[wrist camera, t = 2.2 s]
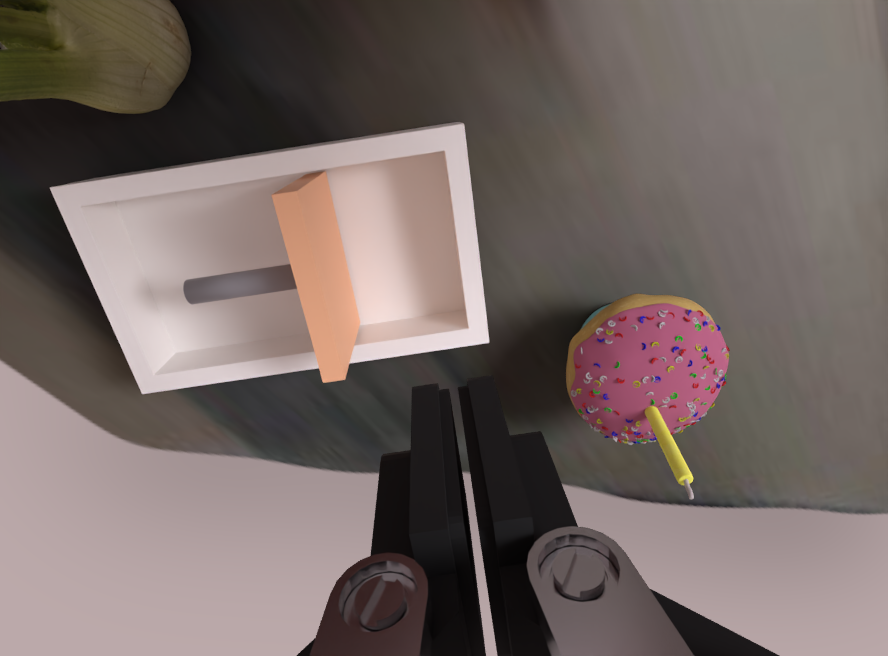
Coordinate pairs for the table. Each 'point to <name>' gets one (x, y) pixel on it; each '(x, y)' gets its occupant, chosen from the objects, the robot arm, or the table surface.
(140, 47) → the fennel bulb
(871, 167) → the table surface
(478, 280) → the white tray
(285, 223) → the pusher
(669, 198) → the table surface
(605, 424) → the cupcake
